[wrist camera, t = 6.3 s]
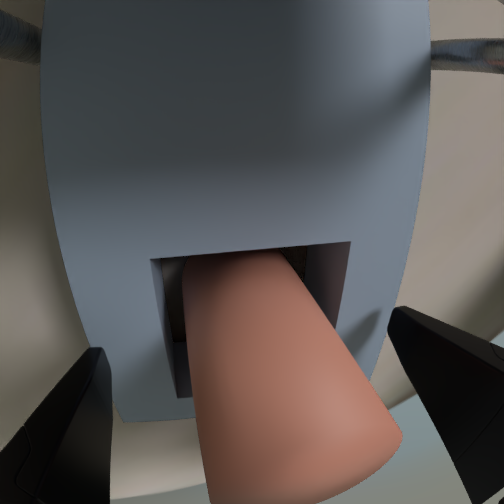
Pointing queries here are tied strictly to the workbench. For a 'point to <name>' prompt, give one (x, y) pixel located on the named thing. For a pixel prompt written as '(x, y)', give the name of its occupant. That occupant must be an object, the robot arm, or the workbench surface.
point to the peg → (275, 386)
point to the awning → (442, 51)
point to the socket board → (230, 161)
